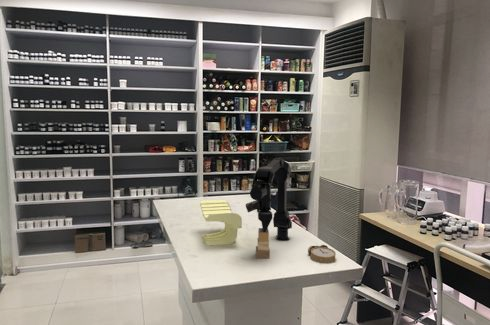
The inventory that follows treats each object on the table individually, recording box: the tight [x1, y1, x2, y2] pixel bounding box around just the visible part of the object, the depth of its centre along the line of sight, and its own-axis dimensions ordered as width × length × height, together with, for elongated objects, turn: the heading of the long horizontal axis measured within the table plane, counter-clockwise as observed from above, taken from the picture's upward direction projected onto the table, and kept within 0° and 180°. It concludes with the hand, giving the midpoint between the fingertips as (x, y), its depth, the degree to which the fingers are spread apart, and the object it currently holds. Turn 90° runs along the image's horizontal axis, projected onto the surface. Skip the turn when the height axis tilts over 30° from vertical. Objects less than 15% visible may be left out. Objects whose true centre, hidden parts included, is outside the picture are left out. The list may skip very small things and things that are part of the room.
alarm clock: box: [307, 244, 337, 264], centre depth 179 cm, size 11×5×15 cm
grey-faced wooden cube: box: [257, 227, 270, 243], centre depth 178 cm, size 4×4×5 cm
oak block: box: [257, 239, 270, 250], centre depth 178 cm, size 5×5×4 cm
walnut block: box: [255, 245, 271, 260], centre depth 179 cm, size 6×6×4 cm
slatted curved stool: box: [199, 199, 243, 246], centre depth 201 cm, size 30×16×18 cm, turn 14°
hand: (263, 229), depth 178 cm, fingers open, 9 cm apart
